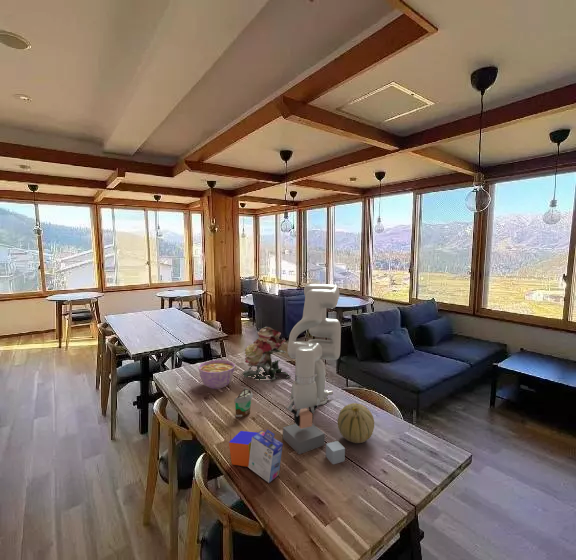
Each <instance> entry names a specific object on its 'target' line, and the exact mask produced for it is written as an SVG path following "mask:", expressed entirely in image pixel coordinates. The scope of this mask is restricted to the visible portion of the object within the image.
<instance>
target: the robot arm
mask: <svg viewBox="0 0 576 560" xmlns="http://www.w3.org/2000/svg"><path fill="white" fill-rule="evenodd" d="M303 293H304V297H305V298H304V305H303V312H302V317H301V320H299V321H298V322H297V323H296V324H295V325H294V326H293V328H292V329H291V331H290V333H289V335H288V336H289V338H288V342H287V349H286V350H287V351H286V353H287V355H288V357H289V358H291V359H292V360H295V367H294V368H295V369H294V371H295V375H294V380H293V381H292V385H291V389H290V397H289V398H290V402H289V403H288V405H287V406H286V409H287V410H288V411H289V412H290V413H292V414H294V417H293V419H294V424H297V426H300V416H299V412H300V409H305V408H307V409H308V410H309V411H310V412H311V413H312V414H313V416H312V424H313V421H314V413H316V412H315V411H316V409H317V408H318V407H319V406H322V405H325V404H326V403H328V401H329V399H328V396H333V395H334V391H333V390H328V389H326V366H325V363H324V361H323V360H327V361H328V360H329V361H335V360H336V361H337V360H338V359H340V356H341V339H342V338H341V335H342V334H341V333H342V327H341V322H340V320H338V319H337V318H328V317H327V309H335V308H336V307H337V306H338V305H337V304H338V302H339V299H340V287H339V286H338V285H337V284H330V283H329V284H328V283H327V284H325V283H309V284H306V285H305V286H304V289H303ZM307 330H308V331H309V334H310V336H313V337H316V339H315V338H313V339H309V340H306V341H305V340H297V338H298V336H299V335H300V334H302V333H303V332H305V331H307ZM317 337H319V338H329V340H328V339H318V338H317ZM330 339H331V340H330Z"/></svg>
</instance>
